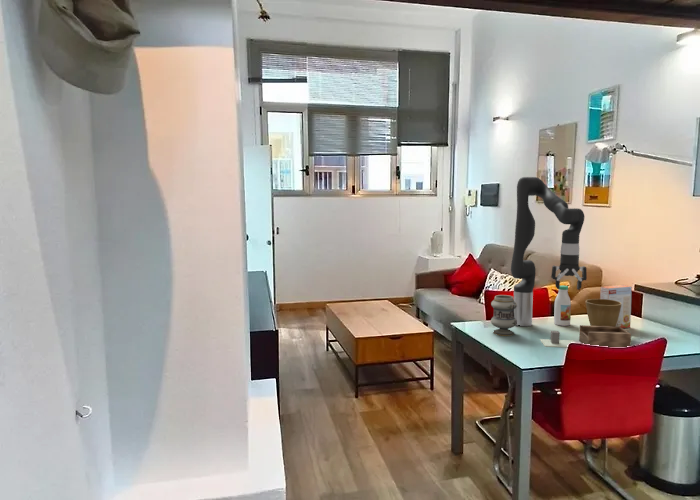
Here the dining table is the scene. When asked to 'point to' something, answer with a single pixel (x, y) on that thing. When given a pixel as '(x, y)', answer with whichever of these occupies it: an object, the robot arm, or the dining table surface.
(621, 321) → the cracker box
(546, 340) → the lid
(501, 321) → the apothecary jar
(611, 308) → the plant pot
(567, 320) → the milk bottle
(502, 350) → the dining table surface
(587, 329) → the walnut box
